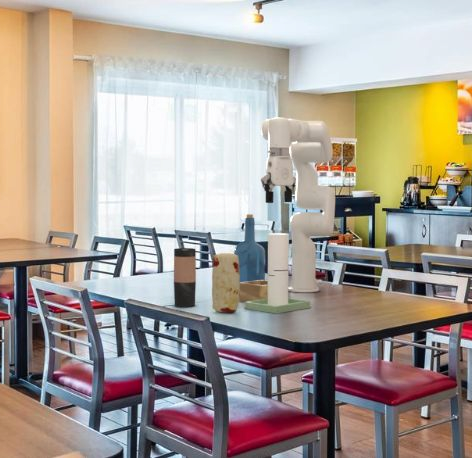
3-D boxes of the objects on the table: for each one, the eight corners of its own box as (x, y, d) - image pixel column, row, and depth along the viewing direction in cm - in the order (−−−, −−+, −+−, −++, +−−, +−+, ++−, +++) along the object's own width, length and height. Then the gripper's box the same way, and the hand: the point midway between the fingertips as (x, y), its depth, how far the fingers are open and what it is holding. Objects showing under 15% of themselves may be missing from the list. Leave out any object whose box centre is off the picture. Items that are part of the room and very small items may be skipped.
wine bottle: (246, 282, 338) (246, 213, 336) (271, 285, 330) (271, 214, 328) (226, 285, 327) (226, 214, 325) (251, 288, 319) (252, 215, 317)
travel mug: (199, 304, 277) (199, 248, 275) (190, 308, 269) (190, 250, 268) (179, 303, 279) (179, 247, 278) (170, 306, 272) (170, 249, 271)
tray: (279, 302, 282) (279, 296, 282) (310, 307, 272) (310, 301, 272) (244, 308, 270) (244, 301, 270) (275, 313, 260) (275, 306, 260)
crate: (260, 298, 293) (260, 279, 293) (283, 301, 285) (283, 282, 285) (238, 301, 285) (238, 282, 284) (261, 305, 277) (261, 285, 276)
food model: (208, 312, 260) (208, 253, 259) (216, 309, 266) (217, 251, 265) (235, 314, 257) (236, 254, 255) (243, 311, 263) (243, 252, 262)
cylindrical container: (286, 307, 267) (286, 234, 265) (265, 306, 268) (266, 234, 267) (289, 304, 274) (290, 233, 272) (269, 303, 275) (270, 233, 274)
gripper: (270, 152, 264) (269, 203, 265) (303, 153, 276) (303, 202, 278) (254, 153, 269) (254, 202, 270) (287, 154, 281) (287, 201, 283)
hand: (278, 202), depth 274 cm, fingers open, 9 cm apart
